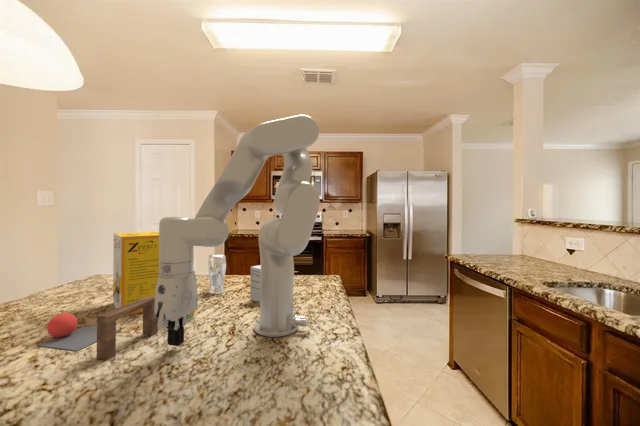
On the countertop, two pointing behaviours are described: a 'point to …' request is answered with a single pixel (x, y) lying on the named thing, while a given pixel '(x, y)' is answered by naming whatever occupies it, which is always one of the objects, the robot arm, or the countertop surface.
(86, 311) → the countertop surface
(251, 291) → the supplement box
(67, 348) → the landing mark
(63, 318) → the ball
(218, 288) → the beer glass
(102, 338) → the bridge
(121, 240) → the packaging box
